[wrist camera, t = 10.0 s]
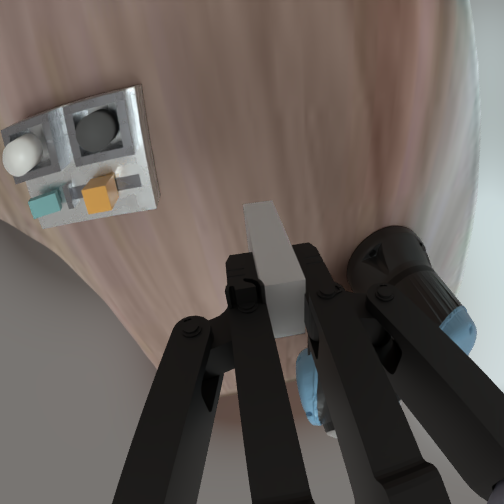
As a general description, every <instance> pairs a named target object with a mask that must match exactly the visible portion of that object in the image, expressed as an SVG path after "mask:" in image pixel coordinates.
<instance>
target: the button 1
mask: <svg viewBox="0 0 504 504" xmlns="http://www.w3.org/2000/svg"><path fill="white" fill-rule="evenodd" d="M42 155H43V146H42V143H41V141H40V139H39V138H38V137H37V136H36V135H34V134H31V133H27V134H24V135H22V136H20V137H19V138H17V139H15V140H13V141H12V142H10V143H9V144H7V146H6V147H5V149H4V151H3V164H4V167H5V169H6V170H7V171H8V172H9V173H10V174H11V175H13V176H16V177H20V176H23V175H24V174H26V173H27V172H28V171H29V170H31V169H32V168H33V167H34V166H36V165H37V164H38V163H39V162H40V160H41V159H42Z"/></svg>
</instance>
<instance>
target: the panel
mask: <svg viewBox="0 0 504 504" xmlns="http://www.w3.org/2000/svg"><path fill="white" fill-rule="evenodd" d="M99 109H106V110H109V111H111V112H113V113H114V114H115V116H116V117H117V119H118V122H119V130H118V133H117V135H116V137H115V138H114V139H113V140H112V141H111V142H110V143H109V144H108V145H107V146H106V147H105V148H104V149H102V150H100V151H97V152H90V151H86V150H85V149H83V148H82V147H81V146H80V145H79V144H78V142H77V139H76V127H77V125H78V123H79V121H80V120H81V119H82V118H83V117H85V116H87V115H89V114H90V113H92V112H94V111H96V110H99ZM1 133H2V137H3V141H4V145H5V147H6V146H7V144H9V143H10V142H12V141H13V140H15V139H17V138H19V137H20V136H22V135H24V134H27V133H31V134H34V135H36V136H37V137H38V138H39V139H40V141H41V143H42V146H43V155H42V159H41V160H40V162H39V163H38V164H37V165H36V166H34V167H33V168H32V169H31V170H29V171H28V172H27V173H26V174H24V175H23V176H20V177H16V176H13V177H14V180H15V183H16V184H18V183H21V182H25V181H26V184H27V187H28V191H29V194H30V197H31V198H33V197H36V196H39V195H42V194H45V193H48V192H51V191H54V190H57V191H58V195H59V198H60V201H61V204H62V209H61V211H58V212H55V213H51V214H48V215H45V216H42V217H39V218H38V219H39V222H40V224H41V227H42V229H45V228H50V227H55V226H60V225H65V224H70V223H75V222H81V221H86V220H92V219H97V218H103V217H108V216H114V215H120V214H126V213H132V212H138V211H145V210H151V209H157V205H158V202H159V198H160V191H159V186H158V181H157V176H156V171H155V166H154V160H153V155H152V149H151V143H150V138H149V132H148V126H147V119H146V113H145V106H144V100H143V93H142V85H136V86H131V87H127V88H123V89H118V90H114V91H110V92H106V93H102V94H98V95H95V96H91V97H88V98H84V99H81V100H77V101H74V102H71V103H68V104H64V105H61V106H58V107H55V108H52V109H49V110H47V111H44V112H41V113H38V114H35V115H33V116H30V117H28V118H25V119H23V120H21V121H19V122H17V123H14V124H12V125H11V126H9V127H7V128H5V129H3V130H1ZM111 174H113V175H114V179H115V183H116V187H117V191H118V195H119V198H118V200H117V202H116V204H115V205H114V207H113V209H112V210H110V211H105V212H99V213H94V214H88V211H87V208H86V205H85V202H84V198H83V195H82V191H81V190H82V189H83V188H84V187H85V185H86V184H87V183H88V182H89V180H90V179H92V178H97V177H102V176H106V175H111Z"/></svg>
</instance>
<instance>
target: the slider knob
mask: <svg viewBox="0 0 504 504" xmlns="http://www.w3.org/2000/svg"><path fill="white" fill-rule="evenodd" d="M81 191H82V195H83V198H84V202H85V205H86V208H87V211H88V214H94V213H99V212H105V211H110V210H112V209H113V207H114V205H115V204H116V202H117V200H118V198H119V195H118V191H117V187H116V183H115V179H114V175H113V174H111V175H106V176H102V177H97V178H92V179H90V180H89V182H88V183H87V184H86V185H85V187H84V188H83V189H82V190H81Z"/></svg>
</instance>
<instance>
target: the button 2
mask: <svg viewBox="0 0 504 504" xmlns="http://www.w3.org/2000/svg"><path fill="white" fill-rule="evenodd" d="M118 130H119V122H118V119H117V117H116V116H115V114H114V113H113V112H111V111H109V110H106V109H99V110H96V111H94V112H92V113H90V114H89V115H87V116H85V117H83V118H82V119H81V120H80V121H79V123H78V125H77V127H76V139H77V142H78V144H79V145H80V146H81V147H82V148H83V149H85V150H86V151H90V152H97V151H100V150H102V149H104V148H105V147H106V146H107V145H108V144H109V143H110V142H111V141H112V140H113V139H114V138H115V137H116V135H117V133H118Z"/></svg>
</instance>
